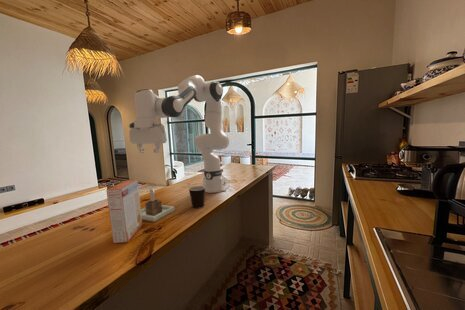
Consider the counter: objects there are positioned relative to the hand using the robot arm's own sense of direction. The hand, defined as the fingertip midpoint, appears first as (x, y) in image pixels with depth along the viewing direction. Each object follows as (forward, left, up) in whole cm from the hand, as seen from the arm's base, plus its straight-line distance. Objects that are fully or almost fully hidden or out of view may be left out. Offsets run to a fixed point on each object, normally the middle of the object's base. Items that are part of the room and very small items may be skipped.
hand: (149, 152), depth 96 cm
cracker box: (+19, +5, -31) cm, 37 cm away
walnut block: (0, 0, -30) cm, 30 cm away
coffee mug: (-18, +15, -31) cm, 39 cm away
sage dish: (0, 0, -31) cm, 31 cm away
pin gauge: (0, 0, -30) cm, 30 cm away
